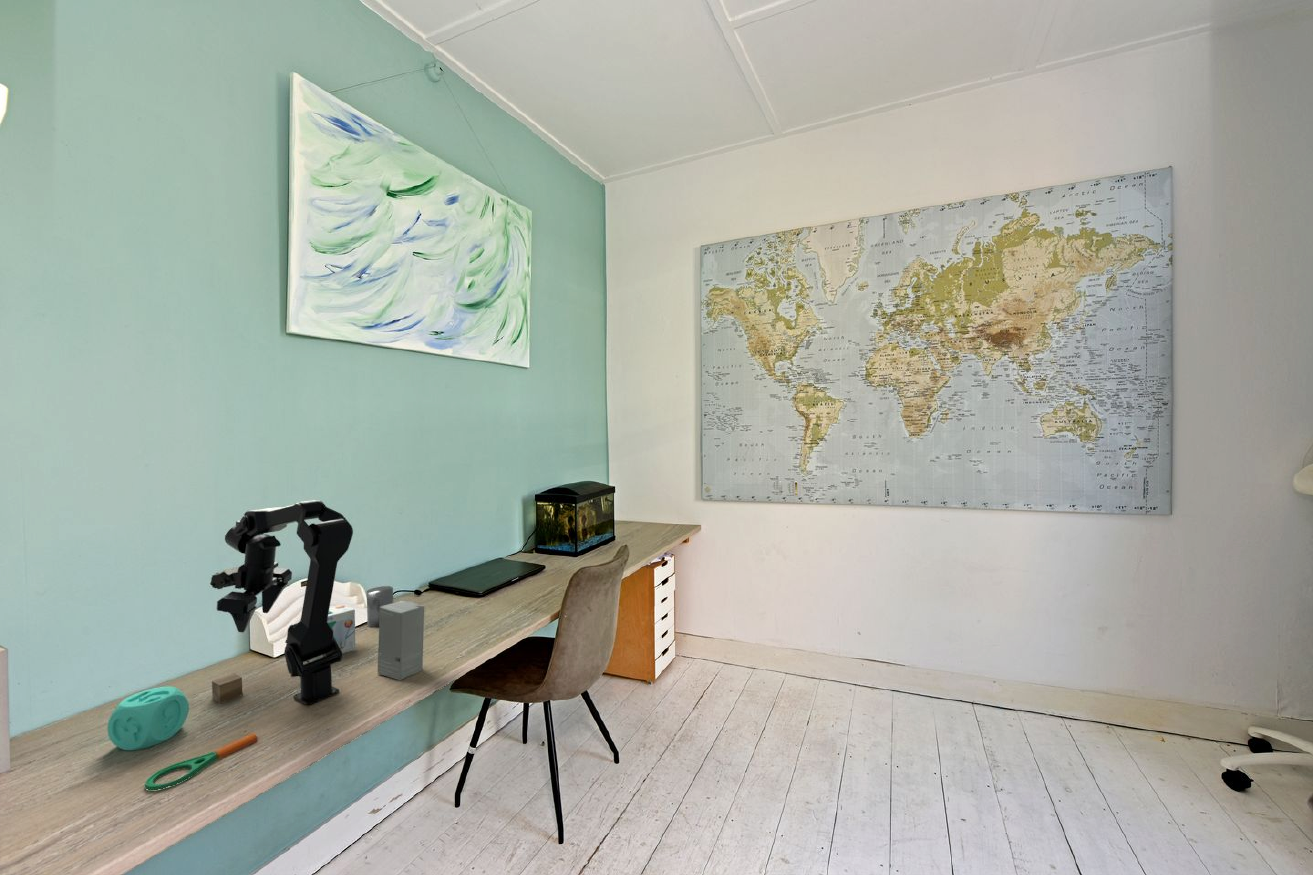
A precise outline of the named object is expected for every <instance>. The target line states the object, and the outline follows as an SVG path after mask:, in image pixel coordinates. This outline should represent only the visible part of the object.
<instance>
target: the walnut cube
mask: <svg viewBox="0 0 1313 875" xmlns="http://www.w3.org/2000/svg"><path fill="white" fill-rule="evenodd" d="M211 693H212V695H211V696H212V700H213V701H215V702H217V703H219V704H223V703H225V702H228V701H230V700H233V699H236V698H238V697H241V696H243V694H244V693H243V677H242V676H241V675H238V674H237V673H231V674H227V675H225V676H222V677H220V678H216V679H213V680H212V681H211Z"/></svg>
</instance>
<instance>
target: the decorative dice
mask: <svg viewBox="0 0 1313 875" xmlns="http://www.w3.org/2000/svg"><path fill="white" fill-rule="evenodd" d="M189 705H190V704H189V701H188V697H187V696H186V695H185V694H184V692H182V690H181V689H178V688H177V687H175V686H160V687H154V688H150V689H146V690H143V691H140V692H135V694H132V695H129V696H128V697H126V698H124V699H123V700H121V701H120V703H119V704H117V706H116V707H115V708H114V710H112V713H111V714H110V717H109V719H108V723H107V735H108V737H109V740H110V742H112V744H113V745H114V746H115V747H117V748H118V749H121V750H124V751H137V750H143V749H147V748H149V747H153V746H156V745H159V744H161V743H163V742H165V741H167V740H169V739H171V738H172V737H174V736H175V735H176V734H177V733H178V731H179V730H180V729H182V727H183V725H184V724H185V723H186V720H187V718H188V714H189Z"/></svg>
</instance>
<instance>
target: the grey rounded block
mask: <svg viewBox="0 0 1313 875" xmlns="http://www.w3.org/2000/svg"><path fill="white" fill-rule="evenodd" d="M392 603H394V587H393V586H390V585H387V586H386V585H385V586H376V587H372V588H369V589H367V590H366V613H367V614H366V617H367V619H366V620H367V621H366V622H367V627H369V628H379V619H380V607H382V606H384V605H388V604H392Z"/></svg>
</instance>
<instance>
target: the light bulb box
mask: <svg viewBox="0 0 1313 875" xmlns="http://www.w3.org/2000/svg"><path fill="white" fill-rule="evenodd" d="M355 611H356V610H355V609H354V608H352V607H350V606H348V605H346V604H343V605H338V606H335V607H331V608H329V614H328V619H327V622H328V624H329V625H330V627H331V628H332V630H333V637H334V639H335V640H336V642H337V644H338V646H339V648H340V649H341V651H342V653H343V654H346V653H348V652H352V651H355V650H356V618H355V617H356V612H355ZM345 652H346V653H345ZM324 656H326V654H324V655H321V656H318V657H316V658H313V659H311V660H308V661H307V662H308V663H309V662H311V661H314V660H317V659H319V658H322V657H324Z"/></svg>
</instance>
